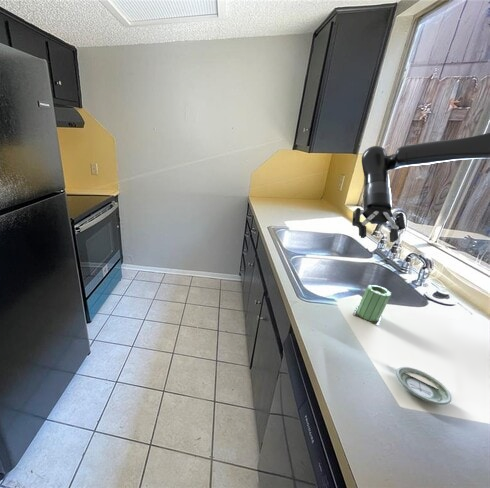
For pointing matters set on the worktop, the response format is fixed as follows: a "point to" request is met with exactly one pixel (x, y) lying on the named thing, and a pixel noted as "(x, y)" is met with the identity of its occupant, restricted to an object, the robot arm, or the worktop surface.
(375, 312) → the hollow cylinder
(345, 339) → the worktop surface
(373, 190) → the robot arm
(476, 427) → the worktop surface
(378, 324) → the stand
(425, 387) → the saucer
